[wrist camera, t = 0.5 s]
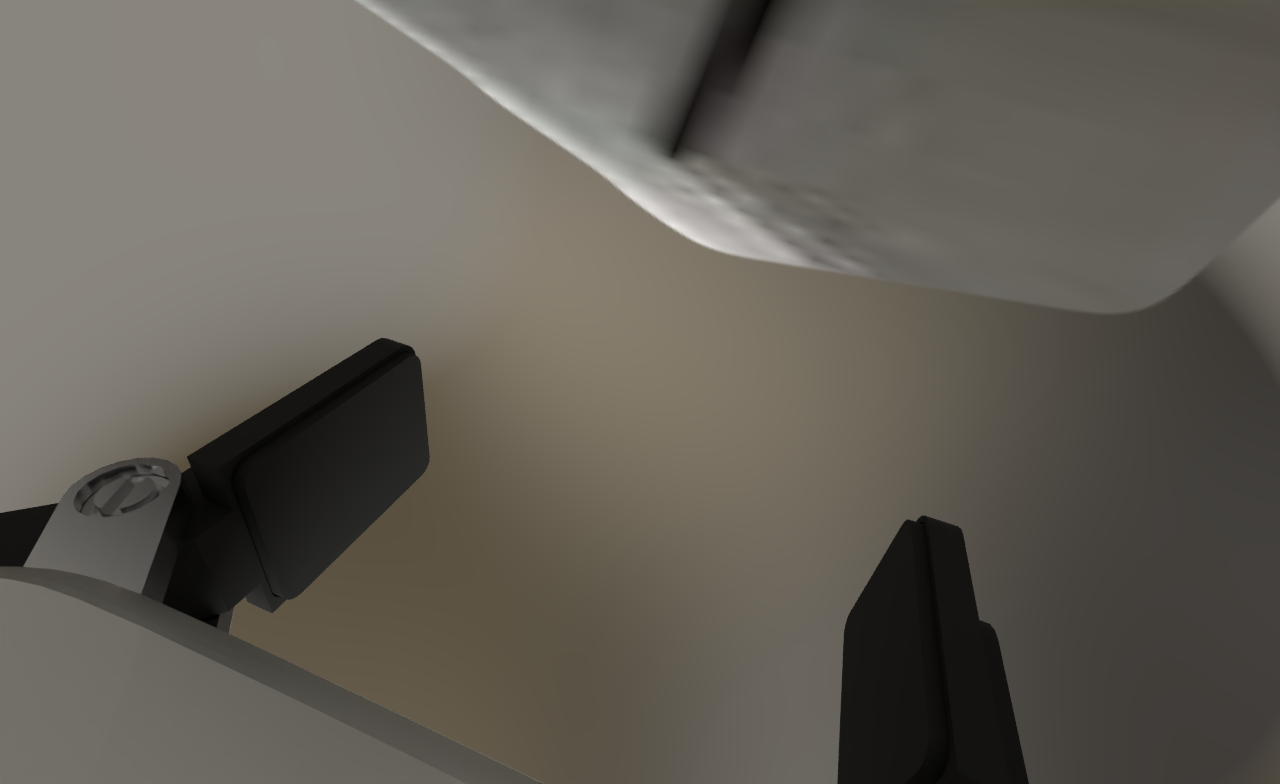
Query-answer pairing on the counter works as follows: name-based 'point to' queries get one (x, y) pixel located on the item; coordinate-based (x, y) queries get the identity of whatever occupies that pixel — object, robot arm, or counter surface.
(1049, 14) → the counter surface
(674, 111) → the counter surface
